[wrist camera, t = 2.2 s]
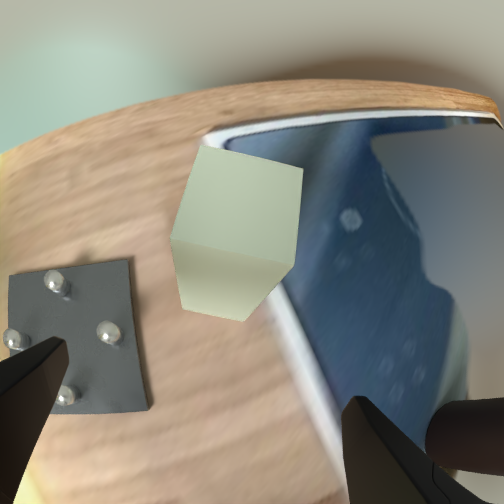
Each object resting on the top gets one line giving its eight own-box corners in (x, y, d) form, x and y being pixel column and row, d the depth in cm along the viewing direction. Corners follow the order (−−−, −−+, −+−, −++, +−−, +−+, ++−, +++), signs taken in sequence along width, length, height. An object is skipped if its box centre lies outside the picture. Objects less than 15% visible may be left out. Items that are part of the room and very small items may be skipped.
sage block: (243, 321, 22) (294, 265, 11) (182, 309, 21) (169, 238, 10) (253, 264, 24) (303, 168, 13) (195, 252, 23) (200, 144, 12)
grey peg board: (149, 409, 18) (143, 414, 16) (21, 411, 15) (4, 413, 13) (129, 262, 22) (121, 248, 19) (12, 277, 19) (-3, 267, 17)
